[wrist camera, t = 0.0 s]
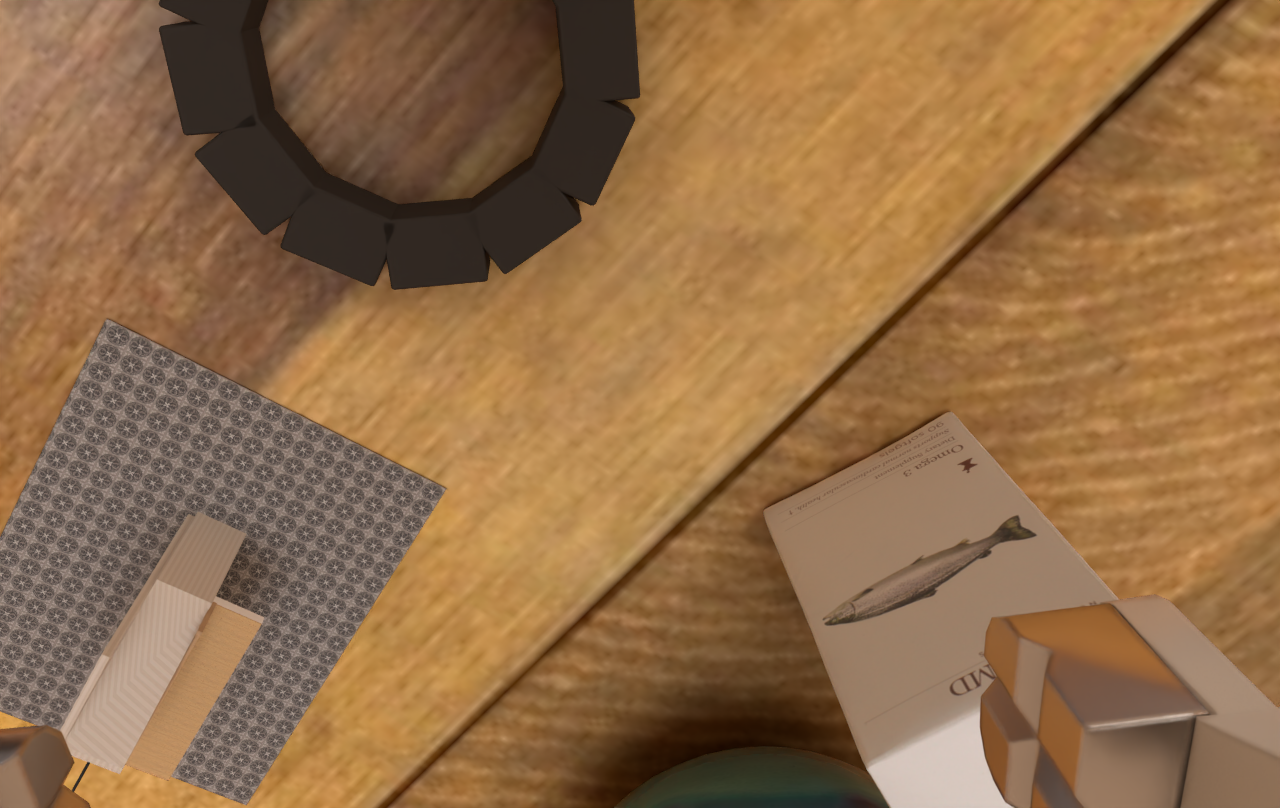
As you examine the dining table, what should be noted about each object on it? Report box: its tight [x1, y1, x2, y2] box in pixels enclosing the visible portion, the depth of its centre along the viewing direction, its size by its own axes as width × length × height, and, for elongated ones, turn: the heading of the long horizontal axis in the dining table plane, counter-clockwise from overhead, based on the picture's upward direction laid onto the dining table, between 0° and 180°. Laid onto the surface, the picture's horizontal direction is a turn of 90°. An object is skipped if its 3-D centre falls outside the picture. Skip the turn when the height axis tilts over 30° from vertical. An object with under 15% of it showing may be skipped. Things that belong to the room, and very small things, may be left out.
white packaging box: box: [763, 412, 1119, 808], centre depth 31 cm, size 7×7×13 cm
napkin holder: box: [59, 512, 265, 792], centre depth 32 cm, size 3×7×7 cm, turn 147°
